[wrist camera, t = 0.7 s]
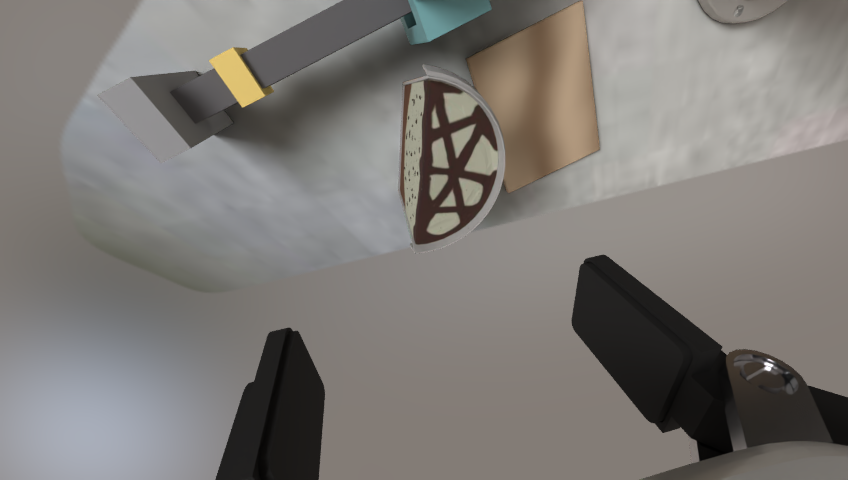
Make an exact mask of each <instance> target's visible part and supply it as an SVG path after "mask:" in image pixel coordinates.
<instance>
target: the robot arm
mask: <svg viewBox="0 0 848 480" xmlns="http://www.w3.org/2000/svg"><path fill="white" fill-rule="evenodd" d="M698 1H699V3H700V4H701V6H702V8H703V10H704V11H705V12H706V13H707V14H708V15H709V16H710V17H711V18H713V19H715V20H717V21H719V22H722V23H731V24H732V23H744V22H749V21H753V20H757V19H760V18H762V17H764V16H766V15H768V14H770V13H772V12H773V11H774V10H776V9H777V8H779V7H780V6H782V5H783V4H785V3H786V2H787V1H788V0H698ZM572 326H573V328H574V330H575V332H576V333H577V334H578V336H579V337H580V338H581V339H582V340H583V341H584V343H585V344H586V345H587V347H588V348H589V349H590V350H591V352H592V353H593V354H594V355H595V357H596V358H597V359H598V360H599V361H600V363H601V364H602V365H603V366H604V368H605V369H606V370H607V371H608V372H609V374H610V375H611V376H612V377H613V379H614V380H615V381H616V382H617V384H618V385H619V386H620V387H621V388H622V390H623V391H624V392H625V393H626V395H627V396H628V397H629V398H630V400H631V401H632V402H633V403H634V404H635V406H636V407H637V408H638V409H639V411H640V412H641V413H642V414H643V416H644V417H645V418H646V419H647V420H648V421H649V422H651V423H655V424H656V425H657V427H658V428H659V429H660V430H661V431H662V433H664V432H668V431H671V430H675V429H678V428H680V427H681V428H682V429H683V430H684V431H685V432H686V433H687V434H688V436H689V437H688V438H689V446H690V454H691V463H692V464H689V465H685V466H682V467H679V468H675V469H672V470H669V471H666V472H663V473H660V474H656V475H653V476H650V477H646V478H643V479H640V480H848V397H844V396H841V395H838V394H834V393H831V392H828V391H825V390H821V389H818V388H815V387H811V386H808V385H807V384H806V382H805V381H804V379H803V378H802V376H801V375H800V374H799V373H798V372H797V371H795V370H794V369H793V368H792V367H791V366H789V365H787V364H786V363H784V362H783V361H781V360H779V359H777V358H775V357H773V356H771V355H768V354H765V353H762V352H758V351H755V350H748V349H739V350H734V351H732V352H729V354H728V355H726V354H725V353H724V352H723V351H721V349H722V346H721V345H720V344H718V343H717V342H716V341H714V340H713V339H712V338H711V337H709V336H708V335H707V334H706V333H704V332H703V331H702V330H700V329H699V328H698V327H697V326H695V325H694V324H693V323H692V322H690V321H689V320H688V319H687V318H685V317H684V316H683V315H681V314H680V313H679V312H678V311H676V310H675V309H674V308H672V307H671V306H670V305H669V304H667V303H666V302H665V301H664V300H662V299H661V298H660V297H658V296H657V295H656V294H654V293H653V292H652V291H651V290H650V289H648V288H647V287H646V286H644V285H643V284H642V283H641V282H639V281H638V280H637V279H636V278H634V277H633V276H632V275H630V274H629V273H628V272H627V271H625V270H624V269H623V268H622V267H620V266H619V265H618V264H616V263H615V262H614V261H613V260H611V259H610V258H609V257H607V256H606V255H599V256H595V257H591V258H587V259H585V261H584V263H583V264H582V265H581V266H580V270H579V277H578V283H577V289H576V296H575V302H574V308H573V315H572ZM324 400H325V390H324V385H323V383H322V380H321V379H320V376H319V374H318V372H317V370H316V368H315V366H314V363H313V361H312V359H311V357H310V355H309V353H308V351H307V349H306V346H305V344H304V342H303V340H302V338H301V336H300V334H299V332H298V331H292V329H291V328H285V329H281V330H276V331H272V332H270V333H269V334H268V336H267V340H266V343H265V346H264V350H263V353H262V356H261V360H260V363H259V367H258V370H257V373H256V377H255V380H254V382H251V383H249V384H248V385H247V386H246V387H245V389H244V392H243V395H242V398H241V401H240V404H239V407H238V411H237V414H236V417H235V420H234V423H233V426H232V429H231V433H230V435H229V439H228V442H227V445H226V448H225V452H224V454H223V458H222V461H221V464H220V467H219V470H218V473H217V476H216V480H318V479H319V465H320V453H321V439H322V426H323V425H322V424H323V413H324Z"/></svg>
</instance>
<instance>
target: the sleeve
mask: <svg viewBox="0 0 848 480" xmlns="http://www.w3.org/2000/svg"><path fill="white" fill-rule="evenodd" d="M408 2H409V4H410V7H411V10H412V12H411V13H409V14H407V15H405V16H403V17H401V18H400V19H401V21H402V24H403V27H404V29H405V32H406V34H407V37H408V40H409V42H410V45H413V44H419V43H425V42H430V41H431V40H433V39H435V38H437V37H439V36H441V35H443V34H445V33H447V32H449V31H451V30H453V29H455V28H457V27H459V26H461V25H463V24H464V23H466V22H468V21H470V20H472V19H474V18H476V17H478V16H480V15H482V14H484V13H486V12H488V11H490V10H492V9H491V5H490V1H489V0H408Z"/></svg>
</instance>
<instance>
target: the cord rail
mask: <svg viewBox="0 0 848 480" xmlns="http://www.w3.org/2000/svg"><path fill="white" fill-rule="evenodd" d="M411 12H412V10H411V7H410V4H409V2H408V0H343V1H341V2H339V3H337V4H335V5H333V6H331V7H330V8H328V9H326V10H324V11H322V12H320V13H318V14H316V15H314V16H312V17H311V18H309V19H307V20H305V21H303V22H301V23H299V24H297V25H295V26H294V27H292V28H290V29H288V30H286V31H284V32H282V33H280V34H278V35H277V36H275V37H273V38H271V39H269V40H267V41H265V42H263V43H261V44H259V45H258V46H256V47H254V48H252V49H250V50H247V48H235V47H233V48H231V49H229V50H227V51H225V52H223V53H222V54H220V55H218V56H216V57H214V58H212V59H210V60H209V61H210V63H211V64H212V66H213V67H214V69H212V70H210V71H208V72H206V73H205V74H203V75H201V76H198V74H197V73H196V72H195V71H188V72H178V73H168V74H158V75H148V76H139V77H130V78H128V79H126V80H124V81H123V82H121V83H119V84H117V85H115V86H113V87H111V88H109V89H108V90H106V91H104V92H102V93H100V94H98V95H97V96H98V97H99V98H100V99H101V100H102V101H103V102H104V103H105V104H106V105H107V106H108V107H109V108H110V110H111V111H112V112H113V113H114V114H115V115H116V116H117V117H118V118H119V119H120V120H121V121H122V122H123V123H124V125H125V126H126V127H127V128H128V129H129V130H130V131H131V132H132V133H133V134H134V135H135V136H136V137H137V138H138V140H139V141H140V142H141V143H142V144H143V145H144V146H145V147H146V148H147V149H148V150H149V151H150V152H151V153H152V154H153V156H154V157H155V158H156V159H157V160H158V161H159V162H160V163H163V162H165V161H167V160H169V159H171V158H173V157H175V156H176V155H178V154H180V153H182V152H184V151H186V150H188V149H190V148H192V147H194V146H195V145H197V144H199V143H200V142H202V141H204V140H206V139H207V138H209V137H211V136H212V135H214V134H216V133H217V132H219V131H221V130H223V129H224V128H226V127H228V126H229V125H231V124H233V121H232V120H231V119H230V117H229V116H228V115H227V113H226V112H225V111H224V110H225V109H226V108H228V107H230V106H232V105H234V104H236V103H238V102H239V104H240V105H241V106H242V108H243V107H245V106H247V105H249V104H251V103H253V102H255V101H257V100H259V99H261V98H263V97H265V96H267V95H269V94H271V93H272V92H274V90H273V89H272V87H271V85H273V84H275V83H276V82H278V81H280V80H282V79H284V78H286V77H288V76H290V75H292V74H294V73H296V72H298V71H299V70H301V69H303V68H305V67H307V66H309V65H311V64H313V63H315V62H317V61H319V60H321V59H323V58H324V57H326V56H328V55H330V54H332V53H334V52H336V51H338V50H340V49H342V48H344V47H346V46H347V45H349V44H351V43H353V42H355V41H357V40H359V39H361V38H363V37H365V36H367V35H369V34H371V33H372V32H374V31H376V30H378V29H380V28H382V27H384V26H386V25H388V24H390V23H392V22H394V21H395V20H397V19H399V18H401V17H403V16H405V15H407V14H409V13H411Z"/></svg>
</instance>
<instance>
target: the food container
mask: <svg viewBox="0 0 848 480" xmlns="http://www.w3.org/2000/svg"><path fill="white" fill-rule="evenodd" d="M423 69H424V70H425V72H426V76H423V77H419V78H416V79H413V80H409V81H406V82H403V87H402V111H401V134H400V157H399V180H398V192H399V196H400V199H401V203H402V207H403V211H404V214H405V218H406V222H407V226H408V229H409V233H410V237H411V241H412V243H411V244H410V246H411V248H412V250H413V251H414V252H415V253H423V252H430V251H434V250H438V249H441V248H443V247H446V246H448V245H451V244H453V243H454V242H456V241H458V240H460V239H461V238H463V237H464V236H466V235H467V234H469V233H470V232H471V231H472V230H473V229H474V228H476V227H477V226H478V225H479V224H480V223H481V222H482V220H483V219H484V218H485V217H486V215H487V214H488V213H489V211H490V210H491V208H492V206H493V205H494V203H495V201H496V199H497V197H498V194H499V192H500V189H501V186H502V182H503V179H504V171H505V144H504V138H503V134H502V131H501V128H500V125H499V122H498V120H497V118H496V116H495V114H494V113H493V111H492V109H491V107H490V106H489V105H488V103H487V102H486V101H485V99H484V98H483V97H482V96H481V95H480V93H479V92H478V91H477V90H476V89H475V88H474V87H473V86H471V85H470V84H469V83H468V82H467V81H466V80H464V79H462V78H461V77H459V76H457V75H456V74H454V73H452V72H450V71H447V70H444V69H442V68H439V67H436V66H430V65H425V64H423Z"/></svg>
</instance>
